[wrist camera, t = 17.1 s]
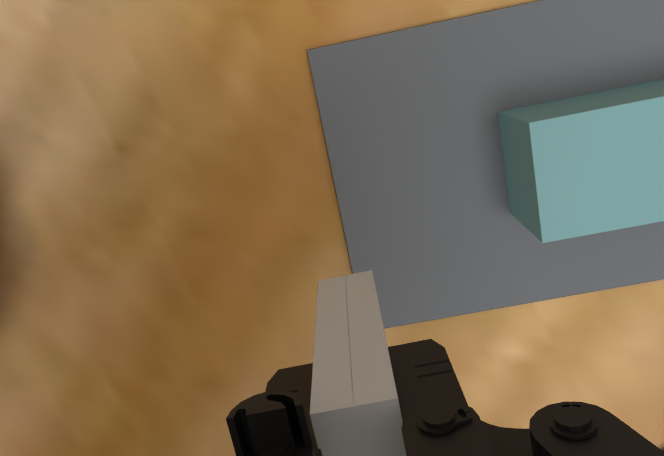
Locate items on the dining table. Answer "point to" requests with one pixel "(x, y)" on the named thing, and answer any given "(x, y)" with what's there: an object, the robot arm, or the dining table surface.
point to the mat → (474, 153)
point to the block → (586, 162)
